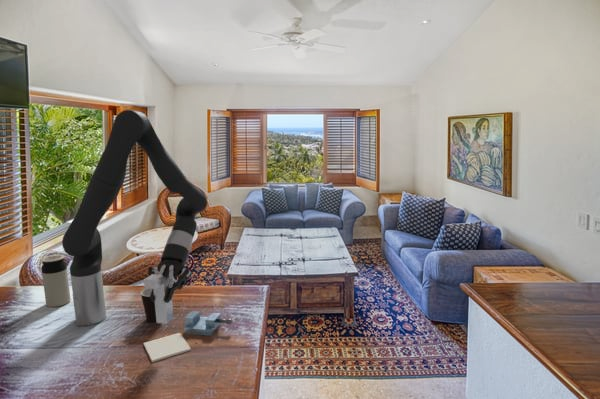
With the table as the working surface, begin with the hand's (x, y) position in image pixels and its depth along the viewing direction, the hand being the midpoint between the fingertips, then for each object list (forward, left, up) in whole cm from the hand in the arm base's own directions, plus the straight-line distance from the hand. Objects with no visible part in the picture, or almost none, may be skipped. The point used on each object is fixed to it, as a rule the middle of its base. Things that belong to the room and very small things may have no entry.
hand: (159, 301), depth 114 cm
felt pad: (+1, +1, -16) cm, 16 cm away
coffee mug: (+4, +23, -16) cm, 29 cm away
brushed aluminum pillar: (0, 0, -7) cm, 7 cm away
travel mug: (-25, +56, -16) cm, 64 cm away
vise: (+16, +5, -16) cm, 23 cm away
